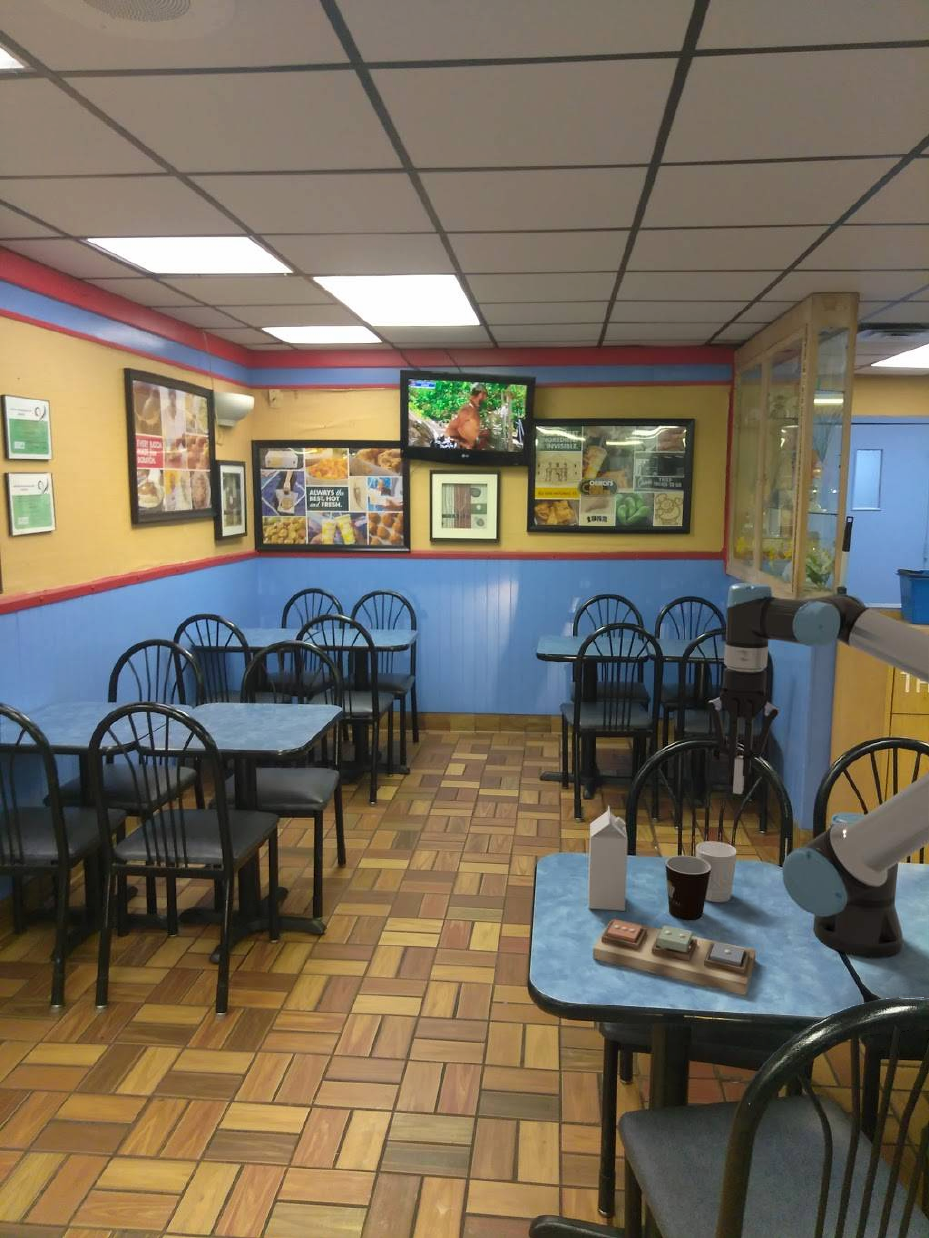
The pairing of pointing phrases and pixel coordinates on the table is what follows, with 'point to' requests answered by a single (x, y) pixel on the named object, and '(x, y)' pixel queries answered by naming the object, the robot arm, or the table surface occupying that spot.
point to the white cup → (718, 869)
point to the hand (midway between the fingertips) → (738, 791)
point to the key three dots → (625, 931)
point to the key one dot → (727, 954)
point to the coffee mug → (687, 886)
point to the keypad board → (676, 960)
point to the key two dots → (674, 938)
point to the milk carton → (607, 863)
